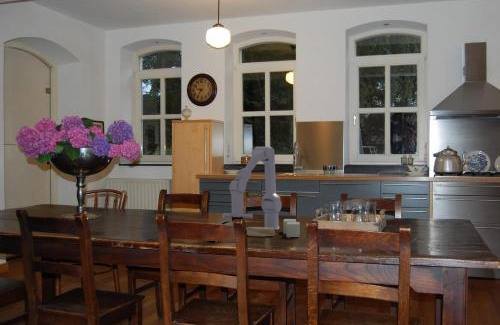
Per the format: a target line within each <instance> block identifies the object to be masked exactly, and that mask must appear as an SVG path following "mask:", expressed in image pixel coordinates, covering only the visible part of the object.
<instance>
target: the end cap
mask: <svg viewBox="0 0 500 325" xmlns="http://www.w3.org/2000/svg"><path fill="white" fill-rule="evenodd" d="M300 226H301V225H300V221H296V222H287V234H286V238H290V237H299V238H300V236H299V235H300V232H301V231H300V229H301V228H300Z"/></svg>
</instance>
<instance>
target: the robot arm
mask: <svg viewBox="0 0 500 325" xmlns="http://www.w3.org/2000/svg"><path fill="white" fill-rule="evenodd" d="M275 160H276V159H275V149H274V148H273V147H272V146H270V145H269V146H255V147H253V149H252V151H251V156H250V158H249V160H248V162H247V163H246V166H245V168H241V169H240V170H239V173H238V174H237V175H236V177H235V178H234V180H232V181H230V183H229V185H228V190H229V191H230V195H231V213H222V219H225V218H226V219H227V218H228V219H231V222H233V220H234V219H243V220H244V219H253V213H244V192H245V191H246V189H247V183H248V181H249V180H250V178H251V176H252V171H253V170H254V168H256V166H257V164H258V163H259V162H262V163H263V164H264V181H265V183H264V184H265V186H264V188H265V194H263V196H262V197H261V199H262V200H261V205H260V206H261V209H262V210H263V212H264V227H266V228H275V231H278V230H279V229H280V227H281V226H279V213H280V212H281V209H282V207H283V206H282V204H283V203H282V201H281V197H280V195H278V194H277V193H276V192H277V188H276V185H277V184H276V161H275Z"/></svg>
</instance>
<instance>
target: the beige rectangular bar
mask: <svg viewBox="0 0 500 325" xmlns="http://www.w3.org/2000/svg"><path fill="white" fill-rule="evenodd" d="M245 228H246V230H247V235H248V236H247V237H265V236H274V235H275V236H276V230H275V228H266V227H265V226H264V227H262V226H246V227H245ZM275 236H274V237H275Z"/></svg>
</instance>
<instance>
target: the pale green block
mask: <svg viewBox="0 0 500 325" xmlns="http://www.w3.org/2000/svg"><path fill="white" fill-rule="evenodd" d="M287 222H297V219H296V218H284V219H283V228H282V230H283V232H282V233H283V235H287Z"/></svg>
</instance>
